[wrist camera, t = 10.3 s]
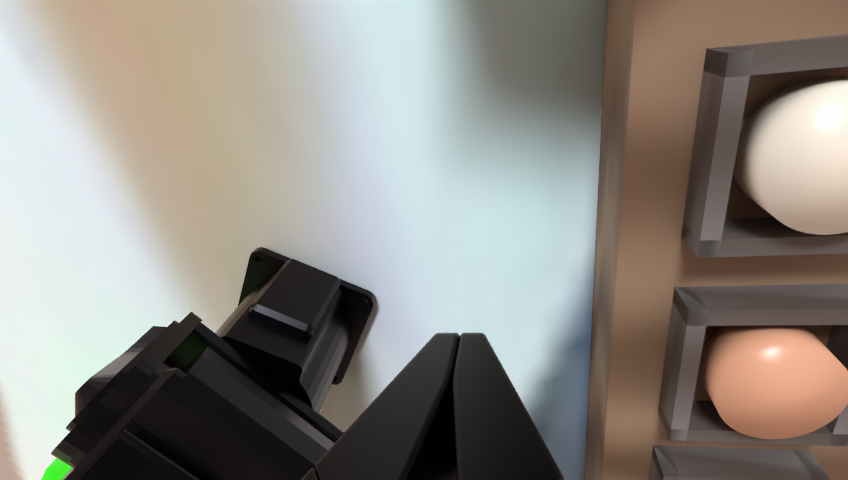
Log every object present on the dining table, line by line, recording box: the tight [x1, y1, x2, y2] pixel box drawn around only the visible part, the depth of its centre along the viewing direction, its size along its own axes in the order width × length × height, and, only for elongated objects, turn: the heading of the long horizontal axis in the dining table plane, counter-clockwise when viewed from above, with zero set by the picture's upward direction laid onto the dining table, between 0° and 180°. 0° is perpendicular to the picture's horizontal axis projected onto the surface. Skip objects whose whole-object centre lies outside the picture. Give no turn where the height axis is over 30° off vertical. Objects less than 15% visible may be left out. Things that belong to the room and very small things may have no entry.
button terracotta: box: [698, 325, 848, 439], centre depth 17 cm, size 4×4×2 cm
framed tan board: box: [584, 0, 848, 480], centre depth 19 cm, size 26×10×6 cm, turn 6°
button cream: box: [733, 76, 848, 235], centre depth 13 cm, size 4×4×2 cm
